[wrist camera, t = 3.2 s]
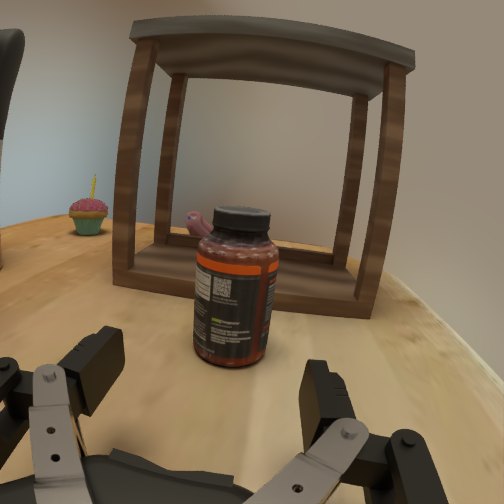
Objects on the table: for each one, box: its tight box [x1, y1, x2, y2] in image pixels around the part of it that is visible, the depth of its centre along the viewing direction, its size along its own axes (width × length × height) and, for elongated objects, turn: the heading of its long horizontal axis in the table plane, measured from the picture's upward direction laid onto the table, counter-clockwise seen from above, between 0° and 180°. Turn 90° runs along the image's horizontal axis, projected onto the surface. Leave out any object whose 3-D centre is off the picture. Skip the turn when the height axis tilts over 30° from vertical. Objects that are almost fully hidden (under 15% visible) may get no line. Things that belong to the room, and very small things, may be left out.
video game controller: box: [185, 211, 213, 237], centre depth 60 cm, size 10×5×7 cm, turn 7°
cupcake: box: [69, 174, 108, 235], centre depth 54 cm, size 9×8×12 cm
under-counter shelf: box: [112, 15, 415, 319], centre depth 37 cm, size 17×32×32 cm, turn 87°
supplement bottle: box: [193, 206, 279, 367], centre depth 23 cm, size 6×6×11 cm
